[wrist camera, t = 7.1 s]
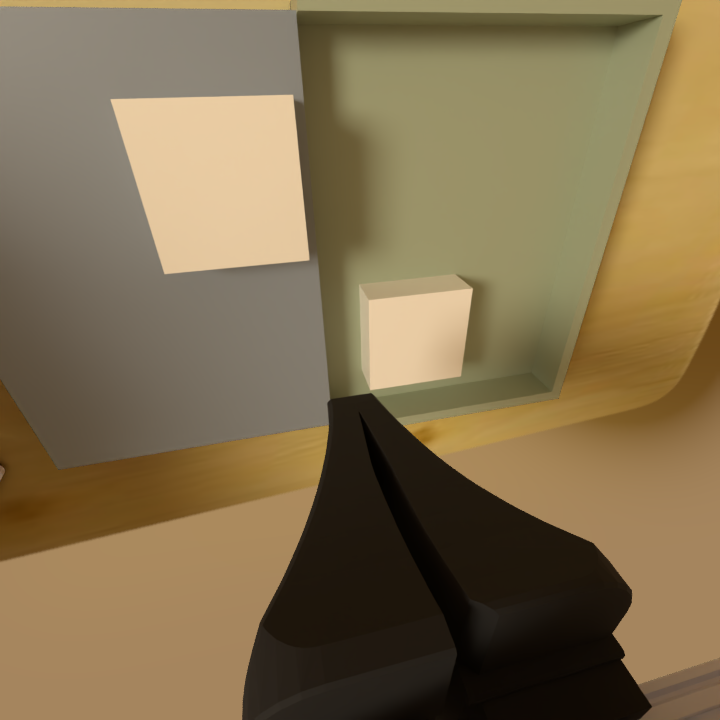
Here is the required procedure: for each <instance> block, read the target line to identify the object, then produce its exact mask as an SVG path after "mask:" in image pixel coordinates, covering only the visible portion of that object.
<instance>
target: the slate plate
mask: <svg viewBox="0 0 720 720" xmlns="http://www.w3.org/2000/svg"><path fill="white" fill-rule="evenodd" d="M261 95H293V99H294V109H295V119H296V129H297V139H298V150H299V160H300V170H301V180H302V190H303V200H304V210H305V220H306V230H307V240H308V250H309V260H308V261H297V262H287V263H276V264H266V265H255V266H245V267H234V268H224V269H213V270H203V271H192V272H182V273H171V274H164V271H163V268H162V264H161V261H160V258H159V255H158V252H157V248H156V245H155V242H154V239H153V235H152V232H151V229H150V226H149V222H148V219H147V216H146V213H145V210H144V206H143V203H142V200H141V197H140V193H139V190H138V187H137V184H136V180H135V177H134V174H133V171H132V167H131V164H130V161H129V158H128V155H127V151H126V148H125V145H124V142H123V138H122V135H121V132H120V129H119V125H118V122H117V119H116V116H115V112H114V109H113V106H112V103H111V100H110V99H137V98H178V97H220V96H261ZM0 380H1V381H2V383H3V384H4V386H5V387H6V389H7V391H8V392H9V394H10V395H11V397H12V398H13V400H14V402H15V403H16V405H17V406H18V408H19V409H20V411H21V412H22V414H23V416H24V417H25V419H26V420H27V422H28V423H29V425H30V426H31V428H32V430H33V431H34V433H35V434H36V436H37V437H38V439H39V441H40V442H41V444H42V445H43V447H44V448H45V450H46V451H47V453H48V455H49V456H50V458H51V459H52V461H53V462H54V464H55V466H56V467H57V469H58V470H61V469H67V468H73V467H79V466H85V465H91V464H97V463H103V462H109V461H115V460H121V459H127V458H133V457H139V456H145V455H151V454H157V453H163V452H169V451H175V450H181V449H187V448H193V447H199V446H205V445H211V444H217V443H223V442H229V441H235V440H241V439H247V438H253V437H259V436H265V435H271V434H277V433H283V432H289V431H295V430H301V429H307V428H313V427H319V426H325V425H329V420H328V408H327V402H328V401H329V400H330V392H329V381H328V370H327V358H326V347H325V335H324V324H323V313H322V301H321V290H320V279H319V267H318V256H317V244H316V233H315V222H314V210H313V199H312V188H311V176H310V165H309V153H308V142H307V131H306V119H305V108H304V97H303V85H302V74H301V62H300V51H299V40H298V28H297V17H296V10H246V9H162V8H78V7H0Z"/></svg>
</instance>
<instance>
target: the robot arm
mask: <svg viewBox="0 0 720 720" xmlns="http://www.w3.org/2000/svg"><path fill="white" fill-rule="evenodd" d="M327 408H328V420H329V434H328V441H327V449H326V455H325V460H324V464H323V469H322V473H321V478H320V482H319V485H318V489H317V492H316V496H315V499H314V502H313V506H312V508H311V511H310V514H309V517H308V520H307V522H306V525H305V528H304V531H303V533H302V536H301V538H300V541H299V543H298V545H297V548H296V550H295V552H294V554H293V557H292V559H291V561H290V564H289V566H288V568H287V570H286V573H285V575H284V577H283V579H282V581H281V583H280V585H279V587H278V589H277V591H276V593H275V595H274V596H273V599H272V600H271V602H270V604H269V606H268V608H267V610H266V612H265V614H264V616H263V618H262V620H261V622H260V624H259V628H258V632H257V635H256V639H255V643H254V646H253V650H252V654H251V658H250V662H249V666H248V670H247V675H246V681H245V687H244V696H243V715H242V720H720V658H718V659H715V660H712V661H709V662H706V663H703V664H700V665H697V666H694V667H691V668H688V669H684V670H681V671H678V672H675V673H672V674H669V675H666V676H663V677H660V678H657V679H654V680H651V681H648V682H645V683H642V684H639V685H637V683H636V682H635V680H634V679H633V677H632V676H631V674H630V673H629V671H628V670H627V668H626V667H625V665H624V664H623V662H622V661H621V659H623V658H624V656H625V654H624V650H623V649H622V647H621V646H620V644H619V643H618V641H617V640H616V639H615V637H614V636H613V634H612V633H613V631H614V630H615V628H616V627H617V626H618V624H619V623H620V621H621V620H622V618H623V617H624V615H625V614H626V613H627V611H628V609H629V607H630V605H631V603H632V590H631V589H630V587H629V586H628V585H627V584H626V582H625V581H624V580H623V579H622V577H621V576H620V575H619V573H618V572H617V571H616V569H615V568H614V567H613V565H612V564H611V563H610V562H609V560H608V559H607V558H606V557H605V556H604V555H603V554H602V553H601V552H600V550H599V549H598V548H597V547H596V546H595V545H594V544H593V543H592V542H589V541H587V540H585V539H583V538H580V537H578V536H576V535H573V534H571V533H569V532H567V531H564V530H562V529H560V528H557V527H555V526H553V525H550V524H548V523H546V522H544V521H542V520H540V519H538V518H536V517H534V516H532V515H530V514H528V513H526V512H524V511H522V510H520V509H518V508H516V507H514V506H513V505H510V504H509V503H507V502H505V501H504V500H502V499H500V498H498V497H497V496H495V495H493V494H492V493H490V492H488V491H487V490H485V489H483V488H481V487H480V486H478V485H476V484H475V483H474V482H472V481H471V480H469V479H467V478H466V477H465V476H463V475H462V474H460V473H459V472H458V471H456V470H455V469H453V468H452V467H451V466H449V465H448V464H446V463H445V462H444V461H443V460H442V459H440V458H439V457H438V456H437V455H435V454H434V453H433V452H432V451H430V450H429V449H428V448H427V447H426V446H425V445H423V444H422V443H421V442H420V441H419V440H418V439H417V438H416V437H415V436H413V435H412V434H411V433H410V432H409V431H408V430H407V429H406V428H405V427H404V426H403V425H402V424H401V423H400V422H399V421H398V420H397V419H396V418H395V417H394V416H393V415H392V414H391V413H390V412H389V411H388V410H387V409H386V408H385V407H384V406H383V404H382V403H381V402H380V401H379V400H378V399H377V398H376V397H375V395H373V394H372V393H368V394H361V395H354V396H348V397H341V398H335V399H330V400H329V401H328V402H327ZM4 473H5V469H4V468H3V467H2V466H1V465H0V481H1V479H2V477H3V475H4Z"/></svg>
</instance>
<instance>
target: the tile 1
mask: <svg viewBox="0 0 720 720" xmlns="http://www.w3.org/2000/svg"><path fill="white" fill-rule="evenodd" d="M110 100H111V103H112V106H113V109H114V112H115V116H116V119H117V122H118V125H119V129H120V132H121V135H122V138H123V142H124V145H125V148H126V151H127V155H128V158H129V161H130V164H131V167H132V171H133V174H134V177H135V180H136V184H137V187H138V190H139V193H140V197H141V200H142V203H143V206H144V210H145V213H146V216H147V219H148V222H149V226H150V229H151V232H152V235H153V239H154V242H155V245H156V248H157V252H158V255H159V258H160V261H161V264H162V268H163V271H164V274H171V273H182V272H192V271H203V270H213V269H224V268H234V267H245V266H255V265H266V264H276V263H287V262H297V261H308V260H309V250H308V240H307V230H306V220H305V210H304V200H303V190H302V180H301V170H300V160H299V150H298V139H297V129H296V119H295V109H294V99H293V95H261V96H220V97H178V98H137V99H110Z"/></svg>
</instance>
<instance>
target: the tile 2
mask: <svg viewBox="0 0 720 720" xmlns="http://www.w3.org/2000/svg"><path fill="white" fill-rule="evenodd" d="M472 291H473V288H472V287H470V286H469V285H468V284H467V283H465V282H464V281H463V280H462V279H460V278H459V277H458V276H457V275H455V274H451V275H442V276H433V277H423V278H414V279H404V280H395V281H386V282H376V283H367V284H359V293H360V328H361V362H362V371H363V374H364V376H365V379H366V381H367V384H368V386H369V389H370V390H376V389H382V388H389V387H395V386H402V385H408V384H415V383H421V382H428V381H434V380H441V379H447V378H454V377H460V376H461V372H462V364H463V357H464V350H465V342H466V335H467V328H468V320H469V313H470V306H471V298H472Z"/></svg>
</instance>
